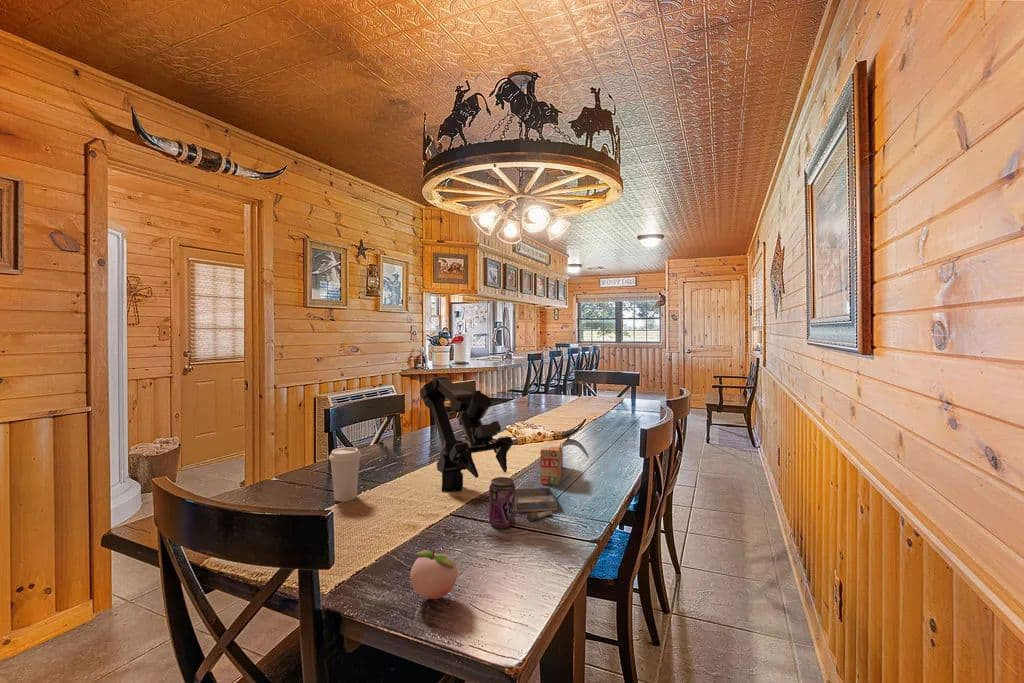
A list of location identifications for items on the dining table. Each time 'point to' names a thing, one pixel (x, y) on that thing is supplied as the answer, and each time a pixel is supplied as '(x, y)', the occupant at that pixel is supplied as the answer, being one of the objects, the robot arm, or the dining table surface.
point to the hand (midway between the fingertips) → (491, 474)
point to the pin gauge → (538, 515)
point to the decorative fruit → (433, 575)
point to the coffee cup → (345, 473)
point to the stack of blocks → (551, 462)
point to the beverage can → (502, 502)
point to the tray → (535, 500)
